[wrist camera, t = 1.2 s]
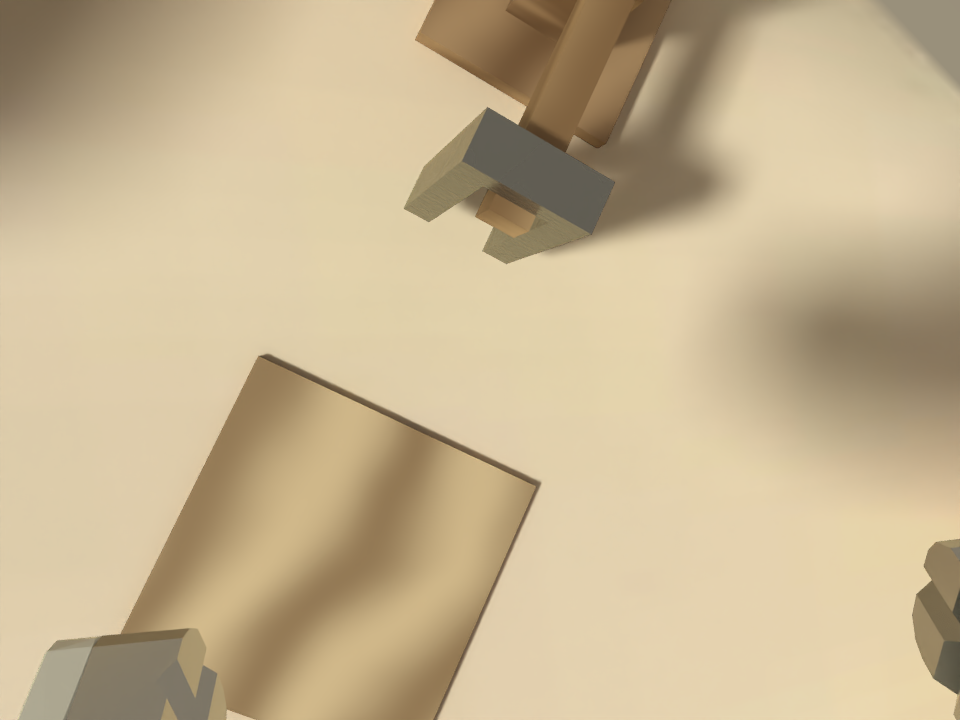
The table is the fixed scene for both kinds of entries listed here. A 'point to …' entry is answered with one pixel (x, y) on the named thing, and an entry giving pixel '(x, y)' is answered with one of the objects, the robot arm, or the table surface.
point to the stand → (548, 66)
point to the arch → (513, 185)
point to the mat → (331, 556)
